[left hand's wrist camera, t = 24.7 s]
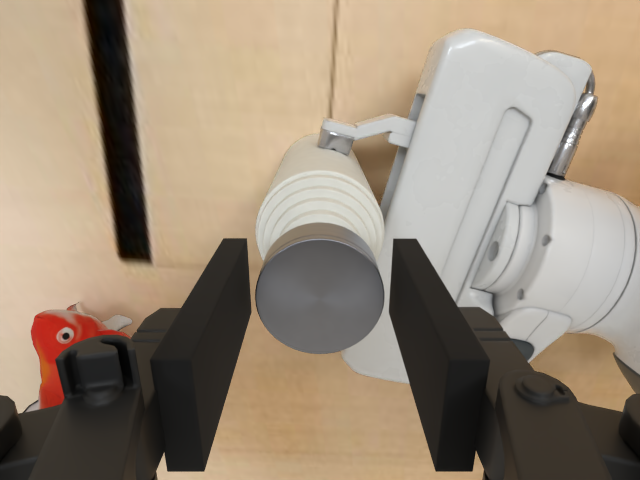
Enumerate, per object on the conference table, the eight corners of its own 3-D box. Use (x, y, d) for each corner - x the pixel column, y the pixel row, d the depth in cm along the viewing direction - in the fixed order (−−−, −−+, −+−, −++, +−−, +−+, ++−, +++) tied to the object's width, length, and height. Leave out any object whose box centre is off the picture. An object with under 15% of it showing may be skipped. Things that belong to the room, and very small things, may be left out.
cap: (400, 288, 15) (409, 311, 13) (308, 346, 15) (307, 374, 14) (333, 198, 14) (334, 212, 12) (237, 265, 14) (228, 286, 13)
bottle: (367, 199, 31) (422, 337, 14) (294, 219, 32) (265, 375, 15) (347, 123, 29) (384, 180, 13) (270, 146, 30) (207, 231, 13)
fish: (195, 308, 29) (80, 453, 22) (213, 407, 40) (141, 524, 33) (66, 251, 31) (-73, 367, 24) (118, 360, 42) (32, 460, 36)
